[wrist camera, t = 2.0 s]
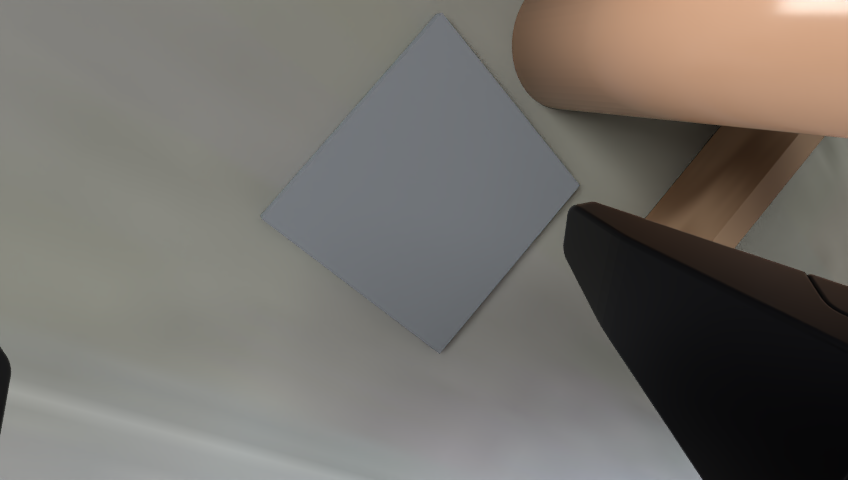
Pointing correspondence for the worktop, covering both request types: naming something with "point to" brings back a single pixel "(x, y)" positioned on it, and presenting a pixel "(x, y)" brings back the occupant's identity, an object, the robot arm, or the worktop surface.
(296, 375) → the worktop surface
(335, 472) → the worktop surface
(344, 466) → the worktop surface
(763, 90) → the tan rounded upright piece
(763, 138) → the cradle
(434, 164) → the mat
